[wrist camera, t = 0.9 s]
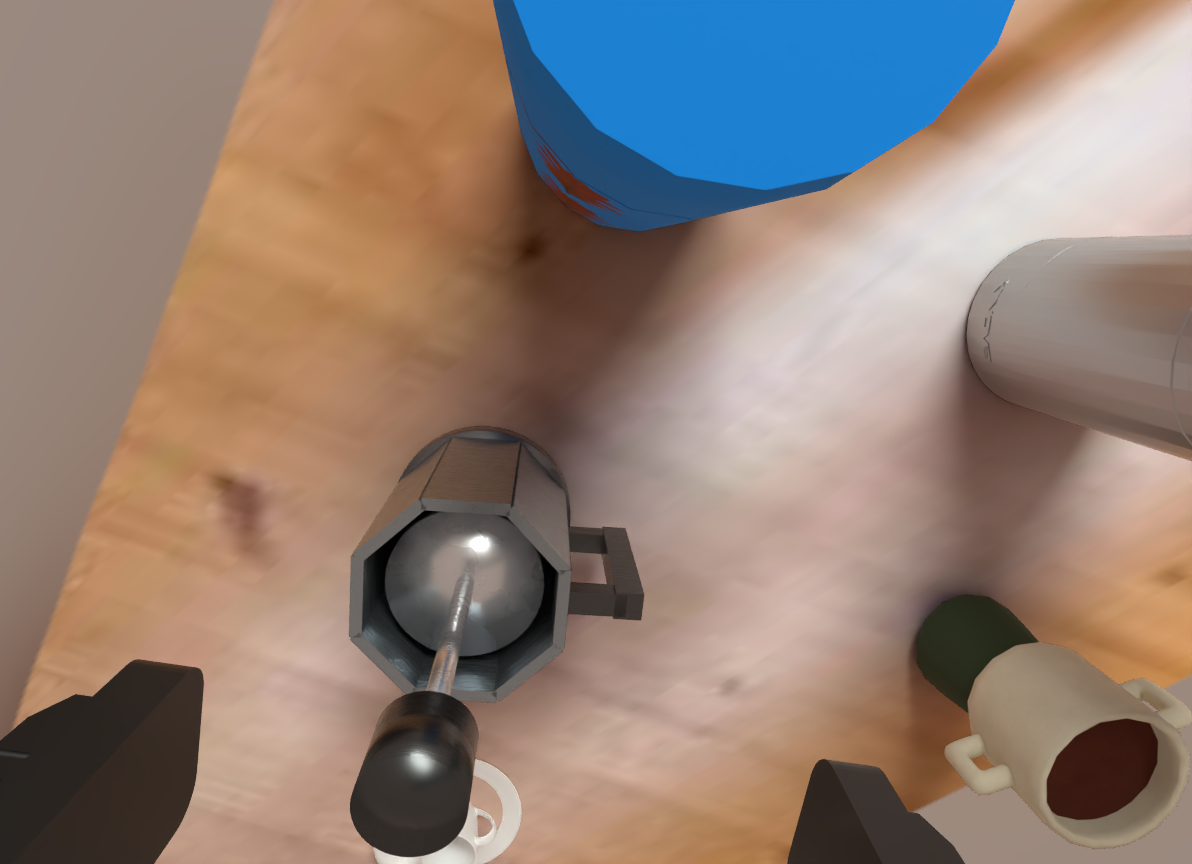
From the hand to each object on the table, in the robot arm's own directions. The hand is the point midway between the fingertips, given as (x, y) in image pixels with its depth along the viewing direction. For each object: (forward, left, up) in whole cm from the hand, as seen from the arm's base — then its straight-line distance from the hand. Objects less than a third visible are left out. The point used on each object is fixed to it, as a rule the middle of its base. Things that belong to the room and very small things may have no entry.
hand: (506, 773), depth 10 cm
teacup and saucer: (+5, +25, -33) cm, 42 cm away
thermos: (-4, -13, -32) cm, 35 cm away
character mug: (-27, +14, -32) cm, 44 cm away
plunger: (+2, +8, -23) cm, 24 cm away
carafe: (+1, +8, -32) cm, 33 cm away
